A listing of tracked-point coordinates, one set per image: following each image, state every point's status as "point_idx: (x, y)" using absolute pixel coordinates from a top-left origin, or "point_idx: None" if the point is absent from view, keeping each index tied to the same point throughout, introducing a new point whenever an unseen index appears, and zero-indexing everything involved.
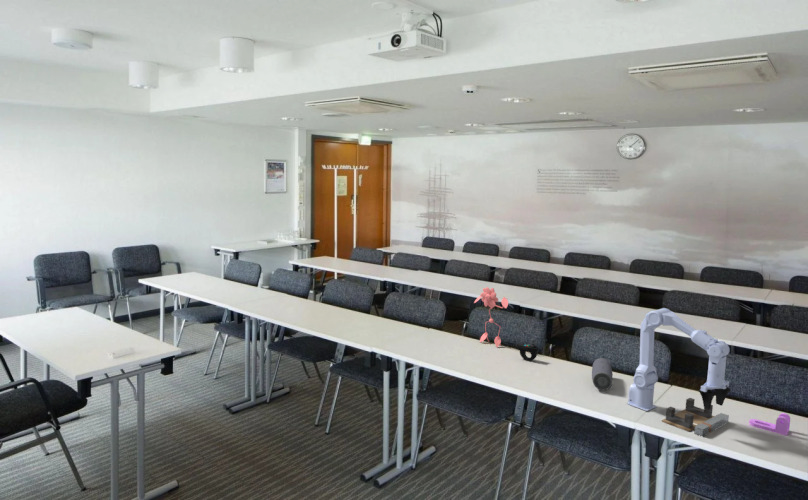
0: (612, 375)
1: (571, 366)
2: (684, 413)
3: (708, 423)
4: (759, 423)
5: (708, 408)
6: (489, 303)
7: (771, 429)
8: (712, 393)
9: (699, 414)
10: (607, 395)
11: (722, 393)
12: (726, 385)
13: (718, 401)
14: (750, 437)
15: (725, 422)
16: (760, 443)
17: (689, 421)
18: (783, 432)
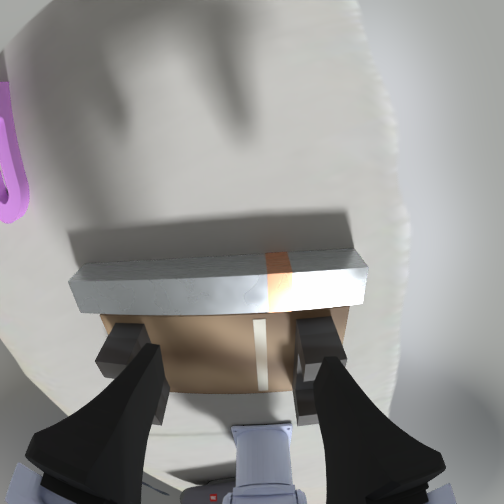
0: (216, 495)
1: None
2: (197, 382)
3: (260, 291)
4: (1, 190)
5: (338, 361)
6: None
7: (8, 127)
8: (412, 483)
9: None
10: None
11: (123, 445)
12: (42, 487)
13: (157, 383)
14: (133, 113)
15: (105, 266)
16: (160, 50)
17: (339, 340)
18: (2, 91)
